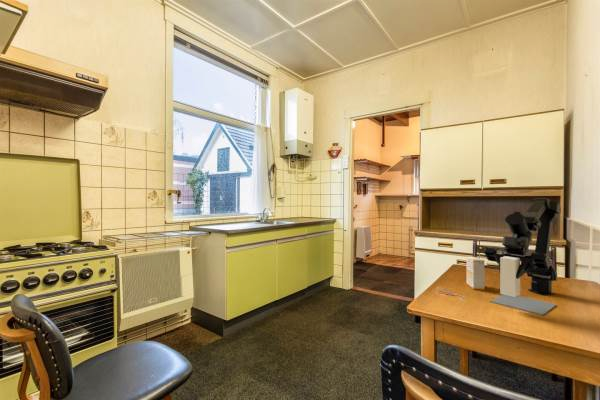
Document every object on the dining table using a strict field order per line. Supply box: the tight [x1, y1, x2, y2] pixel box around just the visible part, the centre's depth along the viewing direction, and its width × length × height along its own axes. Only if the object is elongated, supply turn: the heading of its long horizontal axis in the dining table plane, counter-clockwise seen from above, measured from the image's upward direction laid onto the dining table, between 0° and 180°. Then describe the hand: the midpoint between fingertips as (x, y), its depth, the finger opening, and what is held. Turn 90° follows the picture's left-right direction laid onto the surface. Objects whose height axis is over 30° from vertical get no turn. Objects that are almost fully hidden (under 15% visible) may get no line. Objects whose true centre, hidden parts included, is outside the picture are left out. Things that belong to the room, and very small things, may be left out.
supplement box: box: [465, 256, 485, 291], centre depth 128 cm, size 8×5×13 cm, turn 168°
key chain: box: [437, 290, 467, 303], centre depth 117 cm, size 13×7×1 cm, turn 37°
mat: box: [489, 294, 557, 316], centre depth 108 cm, size 16×16×1 cm
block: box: [499, 256, 521, 297], centre depth 101 cm, size 4×4×13 cm
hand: (508, 276), depth 101 cm, fingers closed on block, 4 cm apart
